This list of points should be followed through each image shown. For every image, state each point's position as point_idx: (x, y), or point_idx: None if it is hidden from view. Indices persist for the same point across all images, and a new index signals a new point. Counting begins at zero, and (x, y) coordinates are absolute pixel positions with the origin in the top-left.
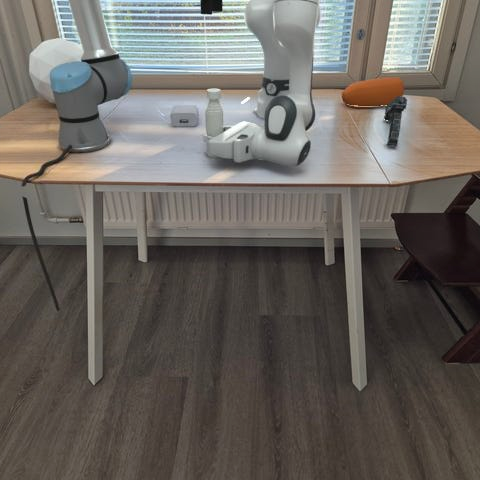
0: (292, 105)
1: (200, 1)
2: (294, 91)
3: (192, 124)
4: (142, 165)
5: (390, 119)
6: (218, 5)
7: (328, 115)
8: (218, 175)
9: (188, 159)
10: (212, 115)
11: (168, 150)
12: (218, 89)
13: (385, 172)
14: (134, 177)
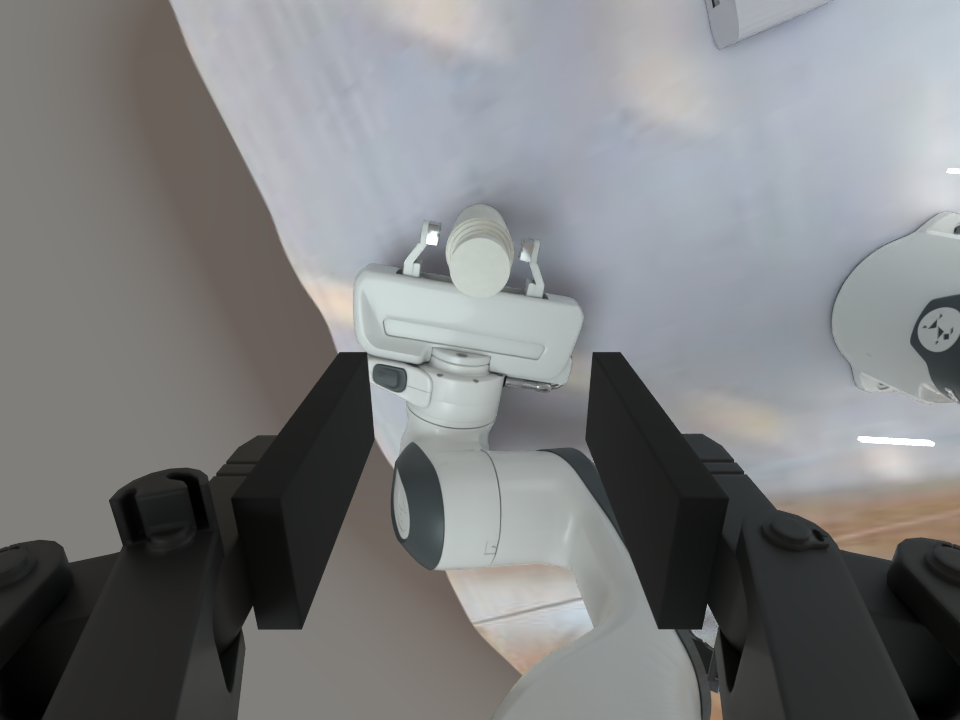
0: (419, 563)
1: (308, 394)
2: (577, 540)
3: (714, 28)
4: (305, 35)
5: None
6: (599, 439)
7: (918, 463)
8: (349, 295)
9: (411, 166)
10: (446, 259)
11: (452, 58)
12: (497, 284)
13: (521, 616)
14: (221, 62)
